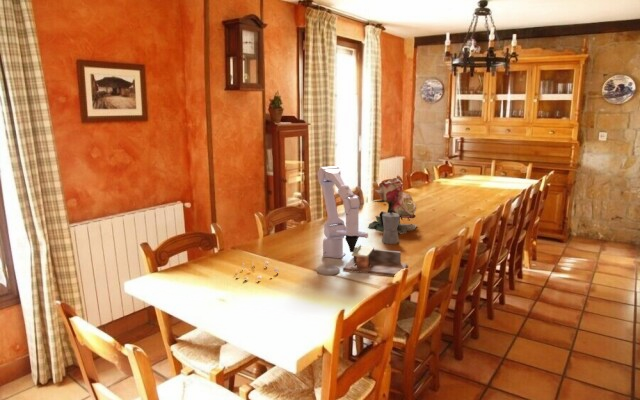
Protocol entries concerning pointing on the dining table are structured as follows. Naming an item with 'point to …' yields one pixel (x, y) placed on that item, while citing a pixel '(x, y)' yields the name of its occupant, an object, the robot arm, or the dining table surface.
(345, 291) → the dining table surface
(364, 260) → the block
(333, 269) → the saucer
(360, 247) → the sliding lid
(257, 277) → the game piece set
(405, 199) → the rose bouquet
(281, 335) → the dining table surface
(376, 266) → the puzzle board
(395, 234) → the coffeepot
